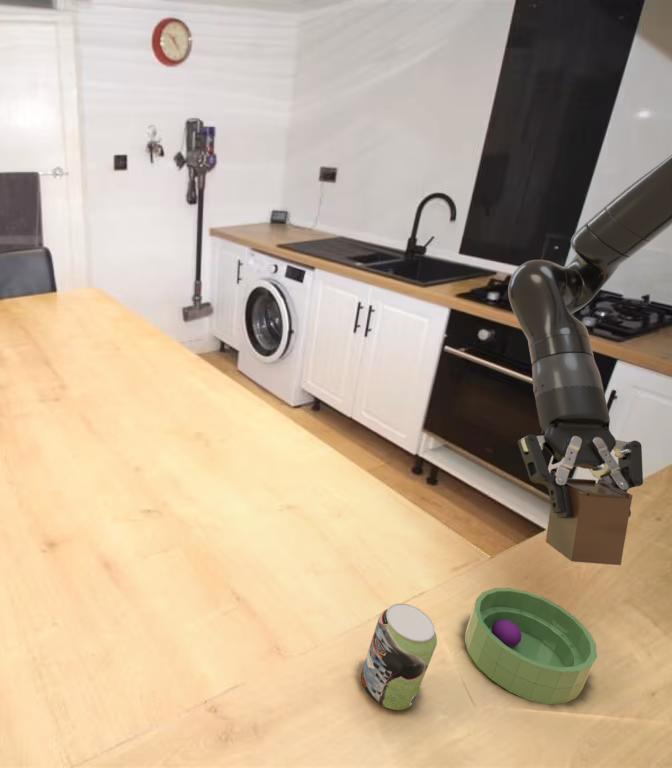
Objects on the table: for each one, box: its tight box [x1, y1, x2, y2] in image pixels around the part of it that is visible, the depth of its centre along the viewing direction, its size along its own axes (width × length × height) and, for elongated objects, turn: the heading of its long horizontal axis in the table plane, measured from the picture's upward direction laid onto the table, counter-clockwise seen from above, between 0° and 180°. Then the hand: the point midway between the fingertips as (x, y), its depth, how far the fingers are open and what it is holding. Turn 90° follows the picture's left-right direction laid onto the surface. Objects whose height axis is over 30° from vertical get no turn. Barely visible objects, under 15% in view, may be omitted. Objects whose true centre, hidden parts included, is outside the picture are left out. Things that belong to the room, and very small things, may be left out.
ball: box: [492, 620, 521, 647], centre depth 69 cm, size 3×3×3 cm
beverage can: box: [360, 602, 438, 711], centre depth 61 cm, size 6×7×12 cm
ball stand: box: [545, 477, 633, 566], centre depth 68 cm, size 6×6×9 cm
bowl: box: [464, 587, 598, 705], centre depth 66 cm, size 12×12×6 cm
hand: (592, 519), depth 67 cm, fingers closed on ball stand, 5 cm apart
